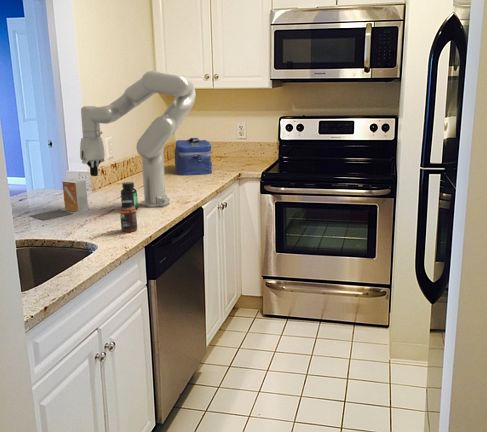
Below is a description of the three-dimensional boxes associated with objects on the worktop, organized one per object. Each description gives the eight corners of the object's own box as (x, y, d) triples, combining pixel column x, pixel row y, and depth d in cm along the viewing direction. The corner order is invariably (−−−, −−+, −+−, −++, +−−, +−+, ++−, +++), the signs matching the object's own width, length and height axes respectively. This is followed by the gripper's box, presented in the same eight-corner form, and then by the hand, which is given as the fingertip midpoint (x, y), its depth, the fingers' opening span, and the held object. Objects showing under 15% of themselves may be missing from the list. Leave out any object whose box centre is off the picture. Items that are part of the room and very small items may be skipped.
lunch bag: (215, 175, 323) (213, 139, 317) (178, 177, 318) (176, 141, 313) (207, 166, 352) (206, 134, 347) (173, 168, 348) (172, 135, 343)
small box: (64, 210, 246) (61, 181, 242) (75, 207, 251) (72, 178, 248) (78, 212, 242) (75, 182, 239) (88, 209, 247) (86, 180, 244)
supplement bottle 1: (140, 210, 242) (138, 183, 239) (124, 212, 239) (122, 185, 236) (135, 207, 248) (133, 180, 245) (120, 209, 244) (117, 182, 241)
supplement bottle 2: (138, 228, 214) (136, 199, 211) (136, 232, 208) (134, 202, 205) (122, 228, 214) (120, 199, 211) (120, 232, 208) (117, 203, 205)
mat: (73, 213, 239) (73, 213, 239) (43, 220, 229) (43, 219, 229) (59, 209, 247) (59, 209, 247) (29, 216, 237) (29, 215, 237)
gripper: (101, 132, 254) (103, 172, 259) (71, 135, 243) (74, 176, 248) (110, 134, 249) (113, 174, 254) (81, 136, 239) (84, 179, 243)
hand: (94, 175), depth 251 cm, fingers closed
